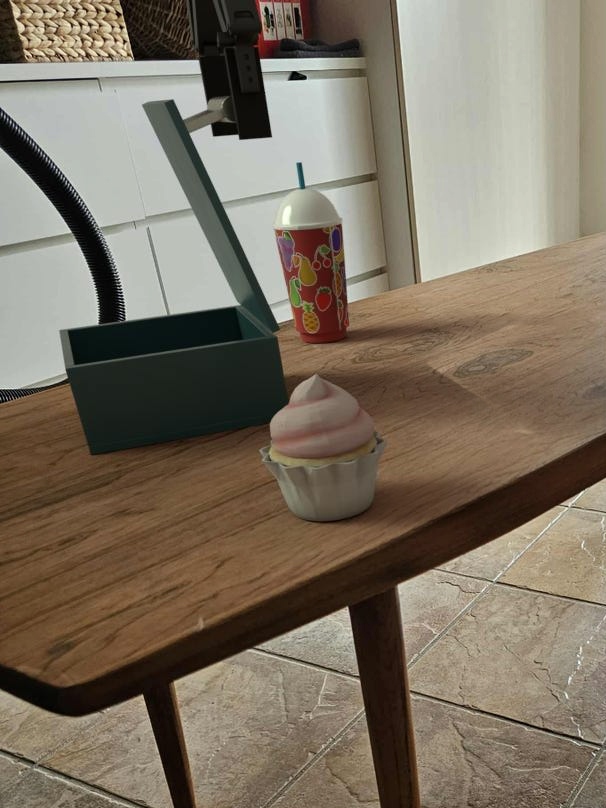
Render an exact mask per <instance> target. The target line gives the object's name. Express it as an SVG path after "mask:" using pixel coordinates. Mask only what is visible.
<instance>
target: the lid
mask: <svg viewBox="0 0 606 808" xmlns="http://www.w3.org/2000/svg"><path fill="white" fill-rule="evenodd" d="M141 107H142V108H143V111H144V113H145V115H146V117H147V119H148V121H149V124H150V125H151V127H152V129H153V131H154V133H155V136H156V138H157V140H158V142H159V144H160V146H161V147H162V150H163V152H164V154H165V156H166V158H167V160H168V162H169V164H170V167H171V168H172V170H173V172H174V174H175V177H176V179H177V180H178V181H177V182H178V183H179V185H180V187H181V189H182V191H183V193H184V195H185V197H186V199H187V201H188V203H189V206H190V208H191V210H192V212H193V214H194V216H195V218H196V219H197V222H198V224H199V226H200V228H201V230H202V232H203V235H204V237H205V239H206V240H207V243H208V245H209V247H210V249H211V251H212V253H213V255H214V258H215V259H216V261H217V264H218V265H219V268H220V270H221V272H222V273H223V275H224V278H225V280H226V282H227V284H228V286H229V288H230V290H231V292H232V294H233V296H234V298H235V300H236V302H237V303H238V305H242V306H243V307H244V308H245V309H246V310H247V311H248V312H249V313H251V314H252V315H253V316H254V317H255V318H256V319H257V320H258V321H260V322H261V323H262V324H263V325H264V326H265V327H266V328H267V329H269V330H270V331H271V332H272V333H273V334H275V333H276V332H279V331H280V330H281V328H280V326H279V324H278V322H277V320H276V319H277V318H276V317H275V315H274V312H273V310H272V309H271V307H270V306H271V305H270V304H269V302H268V300H267V297H266V296H265V294H264V291H263V288H262V286H261V284H260V283H259V281H258V278H257V276H256V274H255V272H254V270H253V268H252V265H251V263H250V261H249V259H248V257H247V255H246V253H245V251H244V248H243V246H242V244H241V242H240V240H239V238H238V235H237V233H236V231H235V229H234V226H233V224H232V221H231V219H230V218H229V216H228V214H227V212H226V209H225V207H224V205H223V203H222V200H221V199H220V196H219V195H218V192H217V190H216V188H215V186H214V184H213V181H212V179H211V177H210V175H209V172H208V170H207V169H206V167H205V164H204V162H203V160H202V157H201V155H200V153H199V151H198V149H197V147H196V145H195V142H194V140H193V138H192V137H191V133H193V132H194V133H195V132H196V131H198V130H200V129H203V128H205V127H207V126H211V124H212V123H215V122H236V118H235V113H234V107H233V101H232V96H222V97H214V98H212V99H210V100H209V102H208V105H207V104H206V109H204V110H202V111H200V112H198V113H195V114H193V115H191V116H188V117H186V118H184V119H183V117H182V115H181V113H180V110H179V108H178V105H177V104H176V102H175V99H173V98H172V99H163V100H151V101H146V102H144V103H141Z"/></svg>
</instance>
